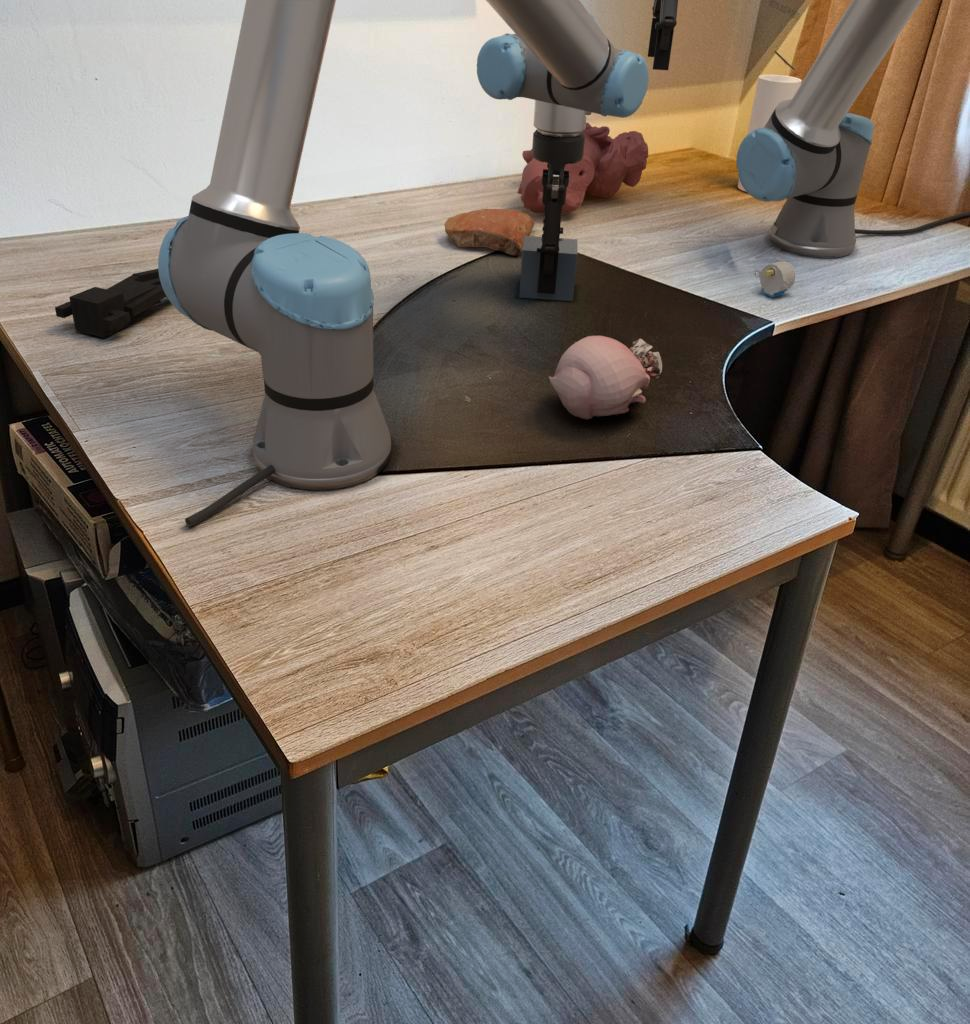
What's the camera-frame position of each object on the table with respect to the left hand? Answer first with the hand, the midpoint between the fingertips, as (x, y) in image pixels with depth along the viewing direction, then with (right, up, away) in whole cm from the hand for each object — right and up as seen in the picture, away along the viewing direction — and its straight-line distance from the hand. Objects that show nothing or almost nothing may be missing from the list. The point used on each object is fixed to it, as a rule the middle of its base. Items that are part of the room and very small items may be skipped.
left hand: (546, 283), depth 152 cm
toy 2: (+4, -23, -32) cm, 39 cm away
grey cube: (0, -1, +1) cm, 1 cm away
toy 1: (-58, -5, -9) cm, 59 cm away
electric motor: (+36, -1, +4) cm, 37 cm away
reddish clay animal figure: (+8, +25, +40) cm, 48 cm away
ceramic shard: (-9, +12, +20) cm, 25 cm away
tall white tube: (+48, +34, +56) cm, 81 cm away
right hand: (+22, +46, +24) cm, 56 cm away
